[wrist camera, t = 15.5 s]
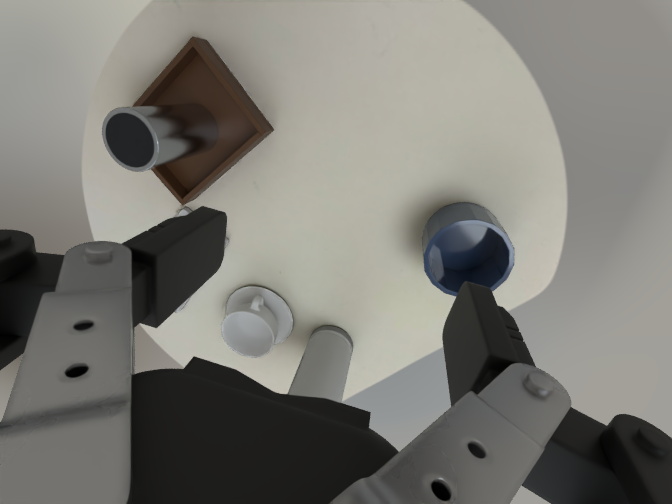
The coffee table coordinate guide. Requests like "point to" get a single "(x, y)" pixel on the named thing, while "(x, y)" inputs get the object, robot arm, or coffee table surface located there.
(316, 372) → the travel mug
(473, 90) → the coffee table surface
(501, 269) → the bucket
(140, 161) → the silver cup
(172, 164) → the tray
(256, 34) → the coffee table surface
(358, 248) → the coffee table surface
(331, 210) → the coffee table surface
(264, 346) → the teacup
